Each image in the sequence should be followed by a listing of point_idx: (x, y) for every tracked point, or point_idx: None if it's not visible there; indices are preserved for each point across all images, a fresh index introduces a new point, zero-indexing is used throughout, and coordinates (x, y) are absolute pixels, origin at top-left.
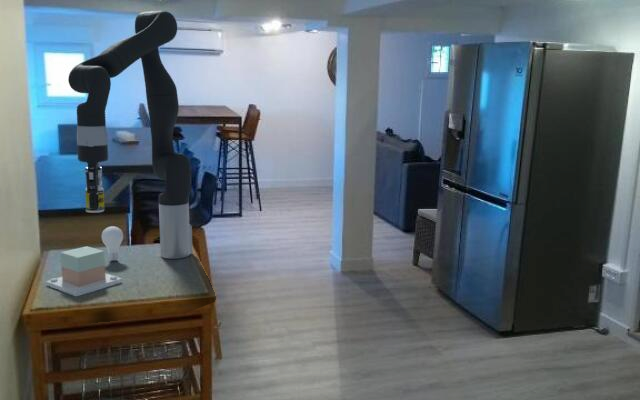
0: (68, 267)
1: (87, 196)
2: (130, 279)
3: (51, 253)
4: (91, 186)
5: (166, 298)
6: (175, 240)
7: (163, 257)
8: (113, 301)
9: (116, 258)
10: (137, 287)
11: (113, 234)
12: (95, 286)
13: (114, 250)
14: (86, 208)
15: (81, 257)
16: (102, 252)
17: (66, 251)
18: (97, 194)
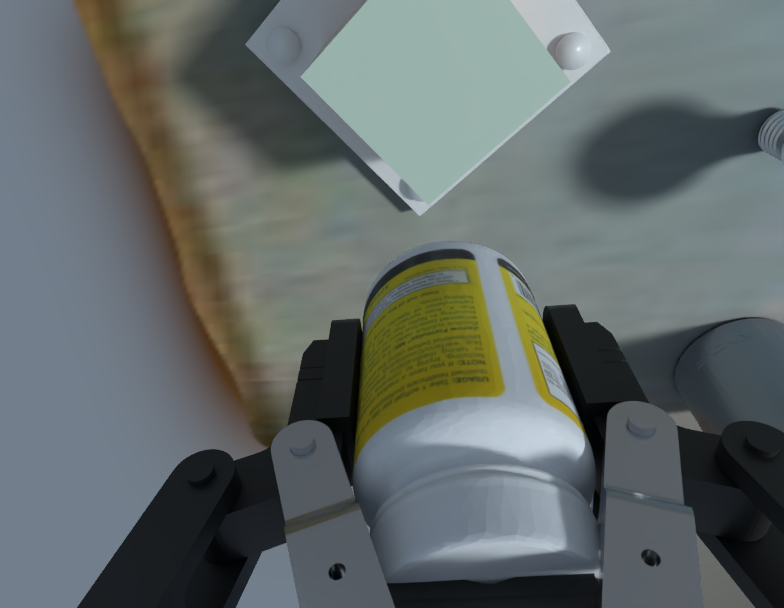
0: None
1: (380, 372)
2: (456, 235)
3: None
4: (372, 524)
5: (237, 358)
6: (710, 425)
7: (713, 329)
8: (199, 206)
9: (765, 149)
10: (353, 269)
11: None
12: (324, 122)
13: (782, 159)
14: (403, 268)
15: (321, 95)
16: (421, 195)
17: None
18: (351, 481)
